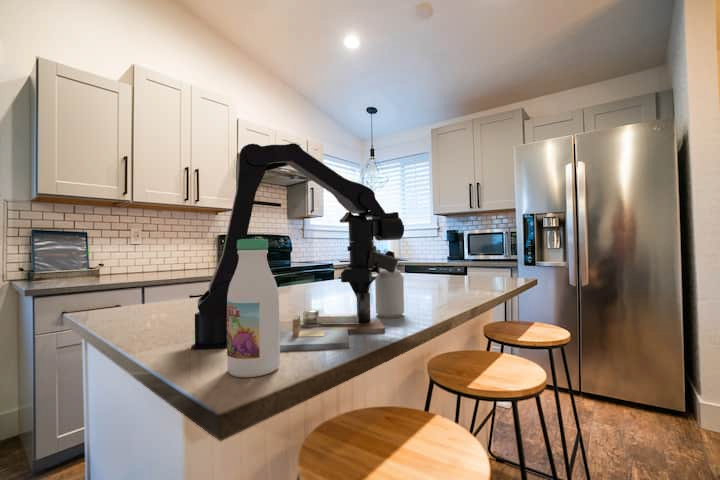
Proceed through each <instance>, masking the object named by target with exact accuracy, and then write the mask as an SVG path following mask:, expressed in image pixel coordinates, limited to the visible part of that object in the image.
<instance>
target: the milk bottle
mask: <svg viewBox="0 0 720 480" xmlns="http://www.w3.org/2000/svg"><path fill="white" fill-rule="evenodd" d="M268 249H269V241H268V239H266V238H265V239H264V238H246V239H241V240H238V241H237V250H238V252H237V253H238V254H239V261H238V265H237V268H236V271H235V273H234V276H233V278H232V280H231V282H230V285H229V289H228V295H227V347H226V354H227V355H226V360H227V361H226V362H227V367H226V368H227V372H228V373H229V374H230V375H231V376H233V377H236V378H255V377H260V376H261V377H262V376H265V375H268V374H272V373H273V372H275V371H277V369H279V366H280V363H281V351H280V324H279V322H280V299H279V298H280V296H279V289H278V284H277V281H276V279H275V277H274V275H273V273H272V271H271V269H270V266H269V262H268V257H267V255H268V253H269V251H268Z"/></svg>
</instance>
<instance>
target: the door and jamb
mask: <svg viewBox="0 0 720 480" xmlns="http://www.w3.org/2000/svg"><path fill="white" fill-rule="evenodd" d="M279 324H280V352H282V351H284V352H285V351H287V352H288V351H308V350H309V351H310V350H311V351H312V350H313V351H314V350H337V349H350V338H349V335H362V334H363V335H365V334H367V335H368V334H386V328H385V326H384V324H383V323H382V321H381V320H380V318H370V323H365V324H361V323H315V324H305V323H303V320H301V315H298V314H297V315H294V316H293V318H292V320H291V321H290V320H289V321H287V320H286V321H279Z"/></svg>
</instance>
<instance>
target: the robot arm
mask: <svg viewBox="0 0 720 480" xmlns="http://www.w3.org/2000/svg"><path fill="white" fill-rule="evenodd" d="M288 166H289V167H291V168H293V169H294V170H296V171H297V172H299V173H300V174H301V175H303V176H305V177H307V178H308V179H309V180H311V181H312V182H314V183H316V184H317V185H319V186H320V187H321V188H323V189H324V190H326V191H327V192H329V193H330V194H332V195H333V196H334V197H335V199H336V200H337V202H338V203H339V204H340V205H341V206H342V207H343V208H344V209H345V210H346V211H348V212H345V214H344V215H343V216H342V218H340V219H339V222H340V223H342V224H343V223H346V224H347V223H348V246H347V252H349V263H348V264H347V268H344V269H343V271H342V272H340V281H341V283H349V285H350V287H351V289H352V291H353V293H354V296H355V298H357V293H359V292H369V293H370V288H371V285H372V283H373V282H375V279H376V278H377V276H376V275H374V276H373V273H376V274H378V273H380V271H381V269H382V270H387V271H388V272H391V273H394V272H395V270H396V269H397V266H398V264H399V263H398V262H399V258H398V257H396V254H395V252H393V251H391V250H387V251H386V252H385V253H383V252H379V251H377V246H376V245H375V244H374V243H375V242H374V239H375V240H376V241H397V240H398V241H399V240H401V239H402V238H403V236H404V233H405V225H404V223H403V220H402V219H401V218H400V217H399V212H397V211H396V212H395V211H394V212H386V211H385V210H384V209H383V207H382V206H381V205H380V203H379V201H378V200H377V199H376V195H375V192H374V191H373V189H371V188H370V187H369V186H367V185H364V184H363V183H360V182H358V181H354V180H350V179H347V178H345V177H343V176H342V175H341V174H339V173H337V172H336V171H335V170H333V169H332V168H330V167H329V166H327V165H326V164H324V163H323V162H322V161H321V160H319V159H317V158H316V157H314V156H313V155H312V154H310V153H309V152H307V151H306V150H304V149H303V148H302V147H301V145H299V144H296V143H295V142H294V143H293V142H290V143H288V144H268V145H262V146H261V145H259V144H257V143H248V144H246V145H244V146H243V147H242V148H241V149H240V152H239V154H238V156H237V158H236V161H235V194H234V195H235V196H234V199H233V203H232V204H233V205H232V208H231V213H230V218H229V220H228V221H229V222H228V225H227V226H228V227H227V232H226V235H225V241H224V245H223V250H222V253H221V254H222V255H221V256H220V259H219V261H218V263H217V266H216V268H215V270H214V272H213V274H212V277H211V280H210V281H209V284H208V289H207V290H206V291H205V292H204V293H203V294H202V295H201V296H200V298H198V299H197V309H198V312H195V313H194V343H193V344H192V345H191V346H190V348H191V349H193V350H195V349H198V350H199V349H217V348H219V349H220V348H227V295H228V289H229V285H230V282H231V280H232V278H233V276H234V273H235V271H236V268H237V265H238V261H239V254H238V253H237V252H238V250H237V241H238V240H241V239H247V238H248V237H247V236H248V231H249V228H250V227H249V226H250V222H251V218H252V212H253V208H254V203H255V199H256V195H257V191H258V189H259V187H260V185H261V182H262V181H263V179H264V176H265V174H266V172H269V171H271V170H276V169H280V168H284V167H288ZM369 218H371V219H369Z"/></svg>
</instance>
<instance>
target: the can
mask: <svg viewBox="0 0 720 480" xmlns="http://www.w3.org/2000/svg"><path fill="white" fill-rule="evenodd" d="M401 273H402V272H401V270H399V269H398V270H396V269H395V272H394V273H391V272H388V271H387V270H385V269H382V270H380V273H376V275H375V276H377V278H376V279H375V280H374V283H375V285H374V287H375V288H374V289H375V290H374V291H375V313H376V315H378V316H379V317H381V318H385V319H387V318H388V319H390V318H391V319H394V318H399V317H401V316H402V315H403V314H404V313H405V296H404V295H405V290H404V289H405V288H404V287H405V283H404V281H405V280H404V276H403V274H401Z"/></svg>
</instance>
